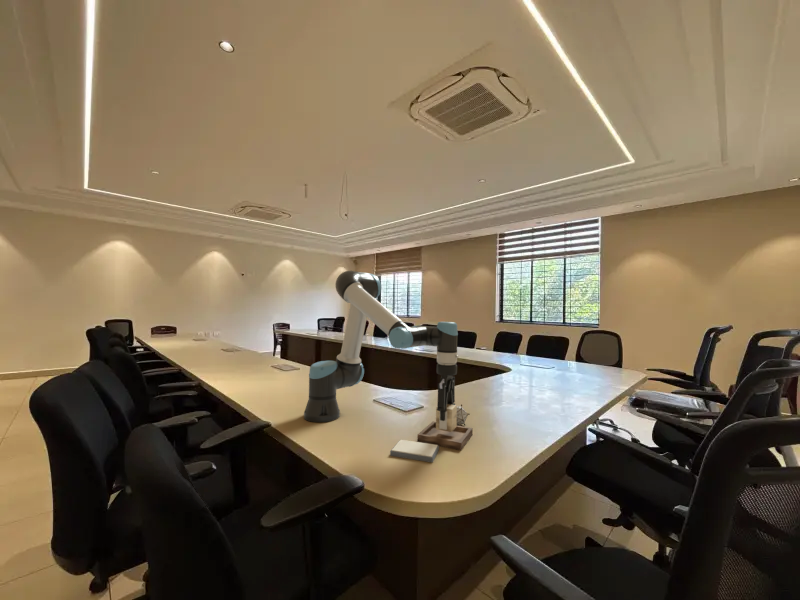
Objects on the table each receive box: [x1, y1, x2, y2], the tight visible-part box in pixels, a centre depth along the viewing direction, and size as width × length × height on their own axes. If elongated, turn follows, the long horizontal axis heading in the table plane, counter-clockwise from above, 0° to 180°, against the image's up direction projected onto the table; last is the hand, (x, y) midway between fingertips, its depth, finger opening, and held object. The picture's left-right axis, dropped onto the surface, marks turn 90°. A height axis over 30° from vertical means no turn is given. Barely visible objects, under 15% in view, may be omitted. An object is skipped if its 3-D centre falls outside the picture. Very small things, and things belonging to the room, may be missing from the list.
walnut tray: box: [416, 420, 474, 451], centre depth 124 cm, size 16×16×2 cm
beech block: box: [435, 404, 458, 432], centre depth 124 cm, size 6×6×8 cm
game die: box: [457, 404, 471, 426], centre depth 138 cm, size 9×8×10 cm
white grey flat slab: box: [389, 439, 440, 463], centre depth 111 cm, size 14×10×2 cm
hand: (446, 425), depth 124 cm, fingers closed on beech block, 6 cm apart
